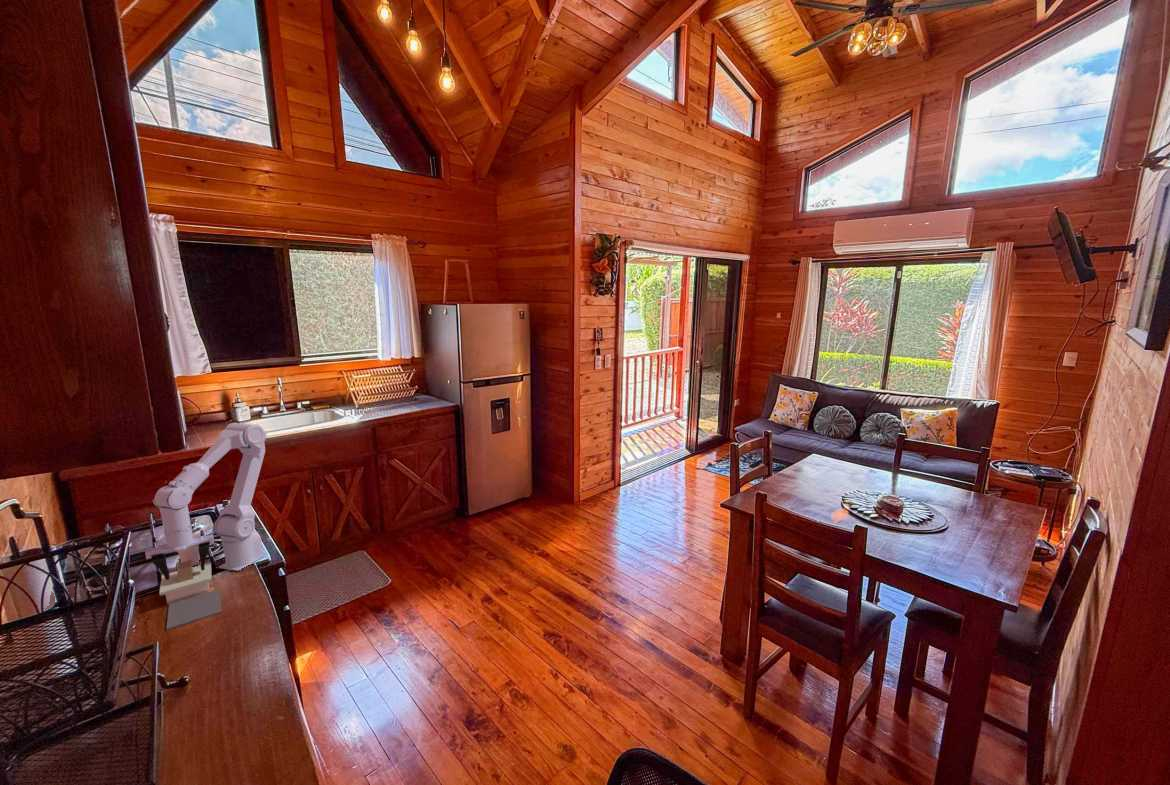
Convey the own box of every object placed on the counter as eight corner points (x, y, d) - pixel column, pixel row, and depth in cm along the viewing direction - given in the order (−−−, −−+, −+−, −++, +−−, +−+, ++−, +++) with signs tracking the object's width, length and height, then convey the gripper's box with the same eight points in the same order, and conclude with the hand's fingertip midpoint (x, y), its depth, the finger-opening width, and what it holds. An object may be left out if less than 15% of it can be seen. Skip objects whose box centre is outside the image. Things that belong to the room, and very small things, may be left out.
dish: (169, 589, 137) (166, 578, 137) (208, 577, 143) (206, 567, 142) (167, 604, 130) (165, 592, 130) (209, 591, 136) (207, 580, 135)
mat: (169, 605, 130) (169, 603, 130) (220, 590, 137) (219, 588, 136) (166, 630, 120) (166, 628, 120) (221, 612, 126) (221, 611, 126)
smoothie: (182, 575, 144) (174, 531, 142) (175, 568, 148) (168, 525, 146) (208, 565, 149) (200, 523, 147) (201, 559, 153) (194, 518, 151)
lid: (162, 577, 137) (159, 563, 136) (211, 564, 143) (208, 551, 143) (159, 595, 128) (157, 581, 127) (211, 580, 135) (209, 566, 134)
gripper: (141, 541, 126) (150, 589, 128) (211, 525, 134) (218, 570, 137) (143, 532, 131) (152, 577, 133) (210, 517, 140) (217, 560, 142)
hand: (185, 573), depth 135 cm, fingers open, 7 cm apart
